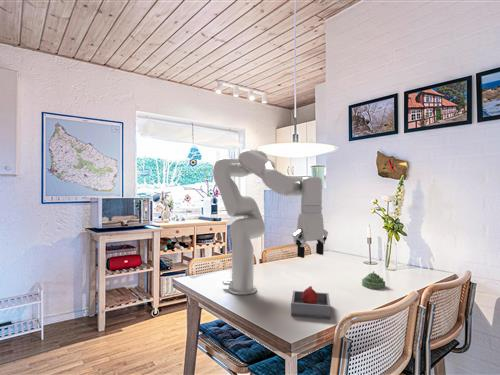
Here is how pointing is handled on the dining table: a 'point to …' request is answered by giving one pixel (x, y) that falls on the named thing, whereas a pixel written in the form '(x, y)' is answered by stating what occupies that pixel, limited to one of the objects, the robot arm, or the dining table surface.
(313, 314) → the tray
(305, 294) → the onion
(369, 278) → the decorative artifact
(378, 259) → the dining table surface
